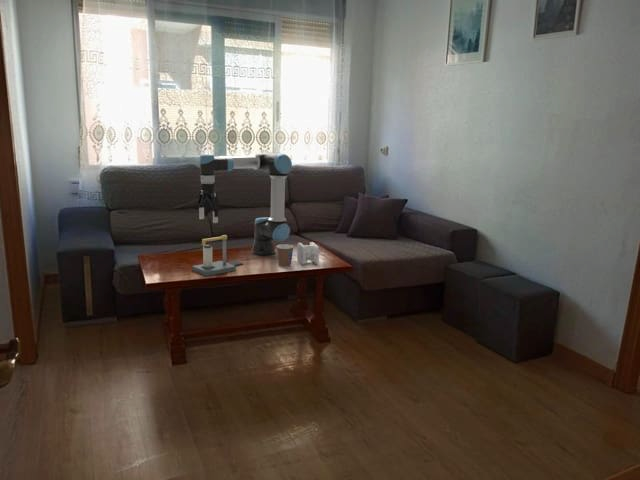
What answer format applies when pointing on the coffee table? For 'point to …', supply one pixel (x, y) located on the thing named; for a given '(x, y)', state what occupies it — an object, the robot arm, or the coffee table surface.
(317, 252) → the cable organizer
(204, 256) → the plug
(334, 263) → the coffee table surface
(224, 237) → the clip
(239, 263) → the pad
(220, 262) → the socket plate
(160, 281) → the coffee table surface
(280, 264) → the coffee cup
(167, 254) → the coffee table surface
